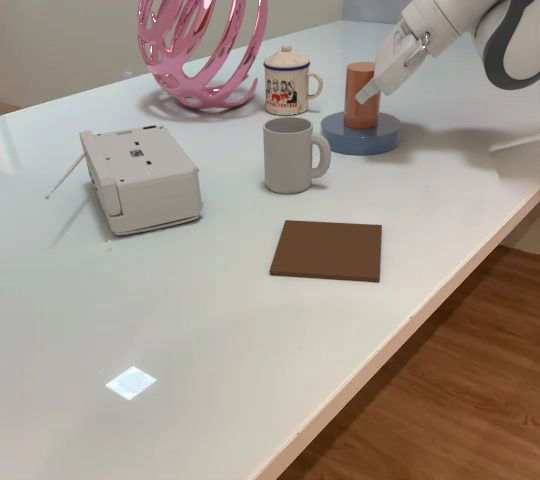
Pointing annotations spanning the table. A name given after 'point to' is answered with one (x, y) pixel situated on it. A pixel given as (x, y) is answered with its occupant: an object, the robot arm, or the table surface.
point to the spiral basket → (184, 48)
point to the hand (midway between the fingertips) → (359, 93)
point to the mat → (329, 251)
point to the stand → (361, 135)
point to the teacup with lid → (288, 82)
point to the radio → (140, 178)
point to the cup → (292, 154)
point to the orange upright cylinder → (353, 110)
